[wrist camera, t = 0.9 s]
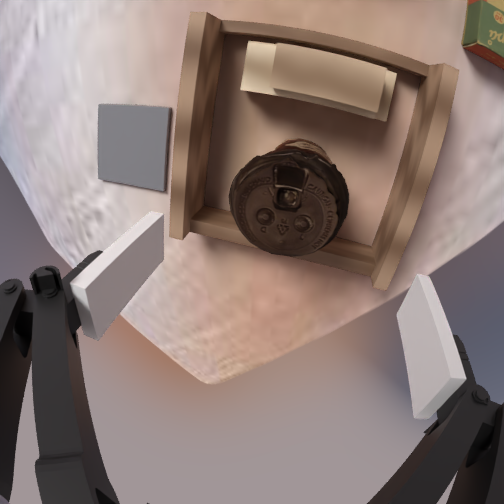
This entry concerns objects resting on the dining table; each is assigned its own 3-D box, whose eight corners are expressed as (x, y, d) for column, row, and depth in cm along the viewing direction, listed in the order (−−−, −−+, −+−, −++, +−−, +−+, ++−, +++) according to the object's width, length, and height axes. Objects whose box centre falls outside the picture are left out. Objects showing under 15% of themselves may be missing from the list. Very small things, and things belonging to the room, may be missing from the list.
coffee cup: (303, 109, 28) (291, 122, 17) (358, 170, 30) (377, 220, 19) (244, 164, 33) (200, 209, 22) (297, 218, 34) (281, 288, 24)
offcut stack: (253, 43, 26) (238, 34, 21) (392, 74, 24) (407, 71, 19) (245, 88, 28) (229, 89, 24) (382, 119, 27) (394, 126, 22)
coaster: (101, 103, 32) (98, 104, 31) (171, 107, 31) (168, 107, 30) (101, 177, 37) (98, 179, 37) (165, 189, 36) (163, 191, 36)
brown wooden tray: (213, 22, 25) (190, 12, 20) (436, 71, 23) (459, 70, 18) (190, 214, 37) (169, 236, 32) (378, 260, 35) (386, 290, 30)
